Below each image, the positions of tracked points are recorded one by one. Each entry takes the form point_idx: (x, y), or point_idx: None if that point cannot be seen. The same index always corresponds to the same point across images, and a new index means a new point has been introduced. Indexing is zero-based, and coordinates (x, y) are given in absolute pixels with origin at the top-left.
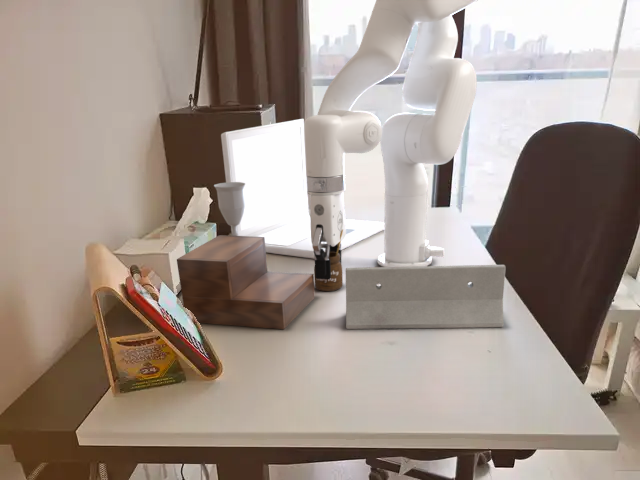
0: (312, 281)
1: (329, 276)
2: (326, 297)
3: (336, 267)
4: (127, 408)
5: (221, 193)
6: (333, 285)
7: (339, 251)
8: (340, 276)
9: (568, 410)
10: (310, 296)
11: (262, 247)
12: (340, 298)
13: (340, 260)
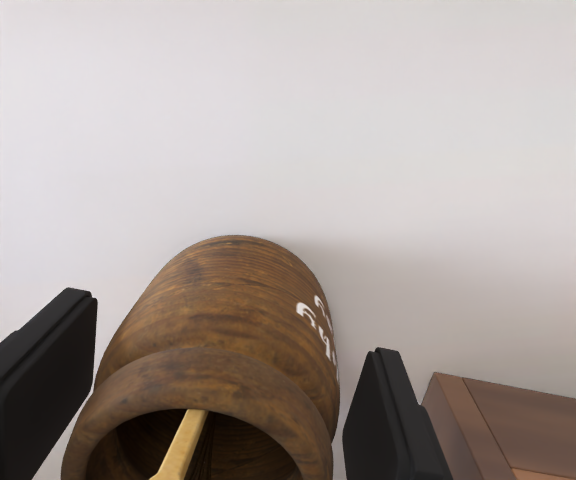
0: (508, 463)
1: (399, 364)
2: (434, 310)
3: (301, 345)
4: None
5: None
6: (322, 296)
7: (6, 392)
8: (272, 273)
9: None
10: (521, 407)
11: None
12: (467, 226)
13: (54, 324)
